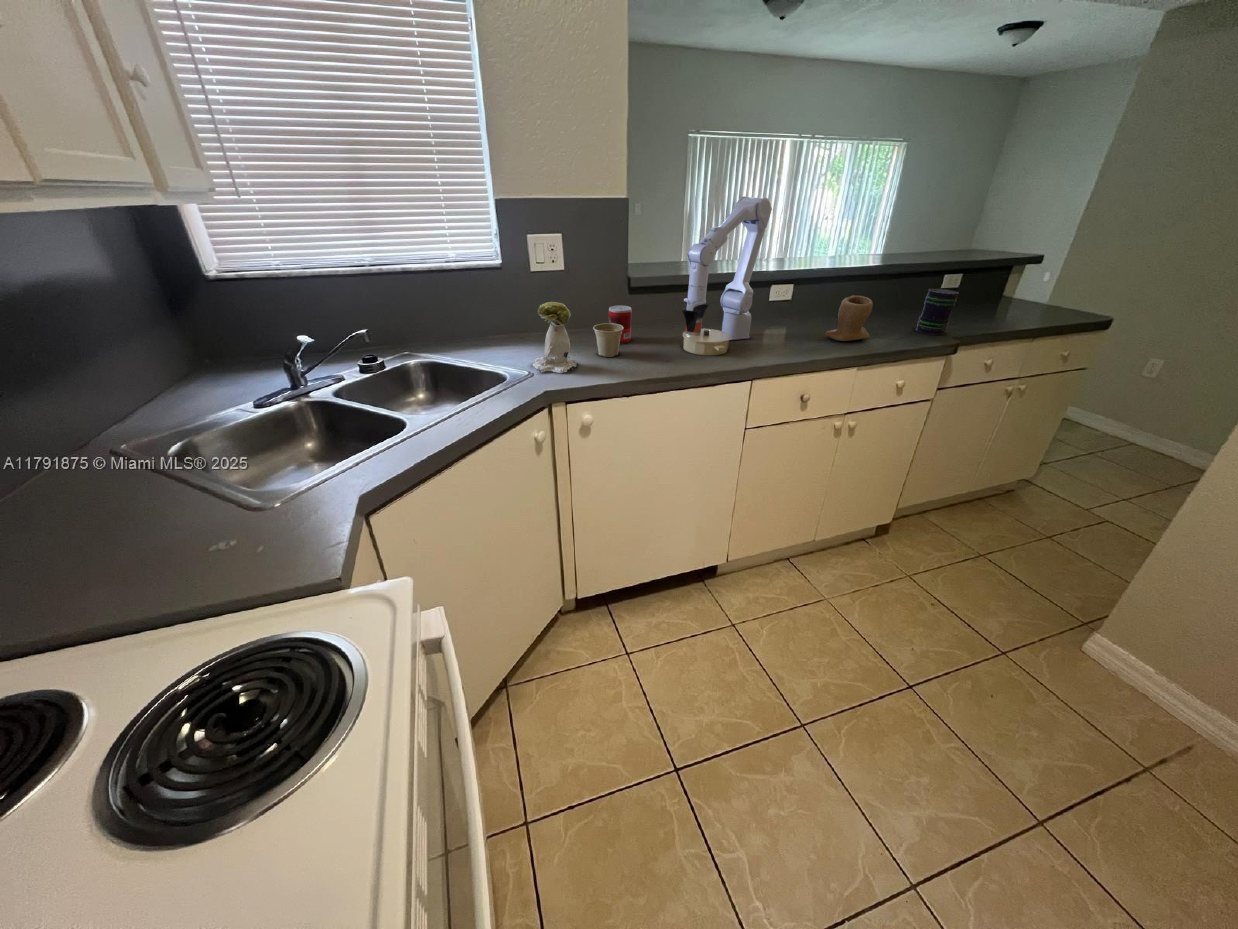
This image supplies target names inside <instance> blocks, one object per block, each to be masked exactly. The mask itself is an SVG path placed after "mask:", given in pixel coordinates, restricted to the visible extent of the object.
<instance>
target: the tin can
mask: <svg viewBox="0 0 1238 929" xmlns="http://www.w3.org/2000/svg"><path fill="white" fill-rule="evenodd" d="M702 326H703V318H701V317H698V318H697V321H696V325H695V329H694V332H689V331H687V328H686V327H685V331H686V334H688V335H700V334H701V329H702Z"/></svg>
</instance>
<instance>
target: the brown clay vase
mask: <svg viewBox="0 0 1238 929" xmlns="http://www.w3.org/2000/svg"><path fill="white" fill-rule="evenodd" d="M872 310H873V300H872V298H869V297H866V296H863V295H850V296H848V297H844V298H843V300H842V301H841V303H840V306H839V309H838V314H837V320H838V321H837V328H836V329H831V330H827V331H826V332H825V335H826V337H828V338H830V339H831V340H835V341H839V342H850V341H858V340H866V339H870V338H871V337H870V334H869V332H868V330H866V328H865V327H863V326H864V324H865V323H866V322H867V319H868V318H869V316H870V315H871V313H872Z"/></svg>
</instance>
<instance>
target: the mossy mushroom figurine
mask: <svg viewBox="0 0 1238 929" xmlns="http://www.w3.org/2000/svg"><path fill="white" fill-rule="evenodd" d="M537 315H538V316H540V318H541V319H542V320H544V322H547V323H548V324H549V327H548V328H547V332H546V335H545V341H544V356H542V357H537V358H535V359H534V363H532V367H533V368H535V369H537V370H539V371H540V373H545V372H553V373H557V374H563V373H567V372H568V370H570V369H572V370H574V369H573V367H574V368H577V367H578V364H577V360H574V359H571V357H570V356H569V352H570V351H571V343H570V341H571V338H570V337H569V334H568V332H567V330H566V326H565V325H567V324H568V323H569V320H570V318H571V311H570V309H569V308H568V307H567V306H566V305H565V304H564V303H562V302H557V301H548V302H544V303H542V304H539V306H538V308H537Z"/></svg>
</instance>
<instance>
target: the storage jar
mask: <svg viewBox="0 0 1238 929" xmlns="http://www.w3.org/2000/svg"><path fill="white" fill-rule="evenodd" d="M959 294H960V292H959V291H957V290H954V289H948V288H939V287H938V288H935V287H934V288H928V293H927V294H926V296H925V298H924V302H923V309H922V311H921V313H920V315H919V317H918V320H917V324H916V328H915V331H916V332H918V333H920V334H924V335H929V336H943V335H944V334H945V332H946V330H947V327H948V325H949V322H950V316H951V314H952V311H953V309H954V308H955V305H956V304H957V299H958V296H959Z"/></svg>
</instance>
